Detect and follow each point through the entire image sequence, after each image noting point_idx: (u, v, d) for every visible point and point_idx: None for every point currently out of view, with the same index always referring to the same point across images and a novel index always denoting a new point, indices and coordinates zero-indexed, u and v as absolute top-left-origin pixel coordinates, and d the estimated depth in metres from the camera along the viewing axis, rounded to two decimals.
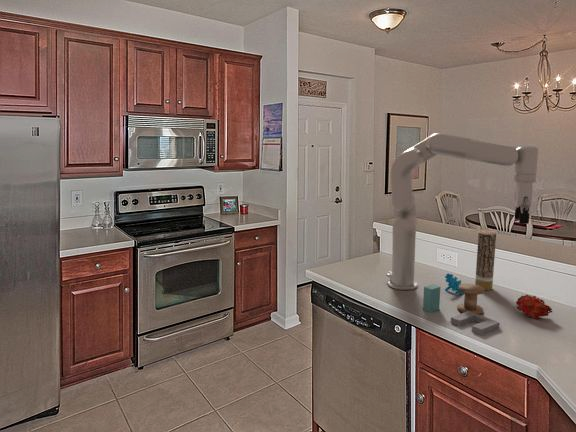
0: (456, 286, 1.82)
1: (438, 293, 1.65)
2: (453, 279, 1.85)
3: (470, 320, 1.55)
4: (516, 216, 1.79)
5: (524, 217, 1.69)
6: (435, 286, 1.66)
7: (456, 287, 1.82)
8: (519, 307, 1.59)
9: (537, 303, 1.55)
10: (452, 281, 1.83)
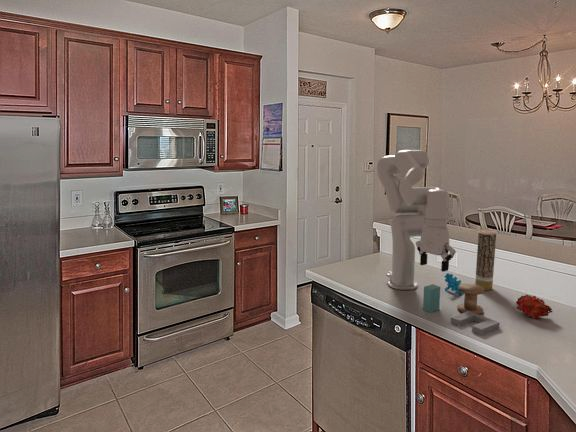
0: (455, 286, 1.83)
1: (438, 293, 1.65)
2: (453, 279, 1.85)
3: (470, 320, 1.55)
4: (422, 262, 1.67)
5: (447, 265, 1.59)
6: (435, 286, 1.66)
7: (455, 287, 1.82)
8: (519, 307, 1.59)
9: (537, 303, 1.55)
10: (452, 281, 1.84)
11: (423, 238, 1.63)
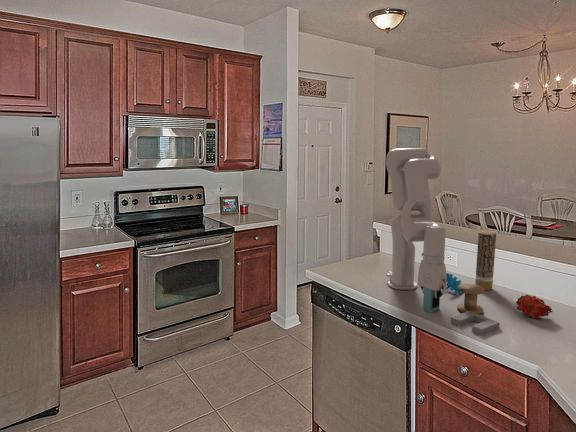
0: (455, 286, 1.83)
1: None
2: (452, 279, 1.85)
3: (470, 320, 1.55)
4: None
5: (437, 301, 1.64)
6: None
7: (455, 287, 1.82)
8: (519, 307, 1.59)
9: (537, 303, 1.55)
10: (451, 281, 1.84)
11: (421, 273, 1.66)
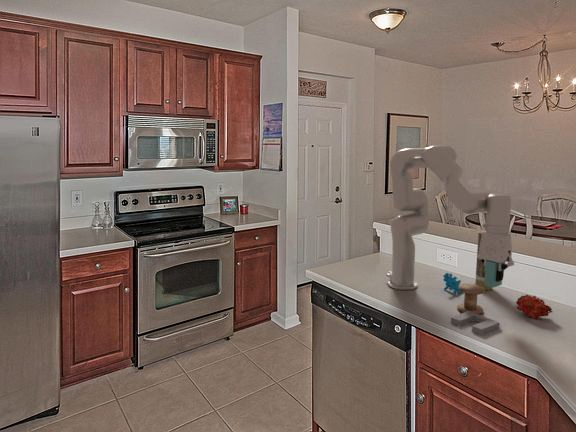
0: (454, 285, 1.83)
1: None
2: (452, 278, 1.86)
3: (470, 320, 1.55)
4: None
5: (501, 274, 1.54)
6: None
7: (454, 286, 1.83)
8: (519, 307, 1.59)
9: (537, 303, 1.55)
10: (450, 280, 1.84)
11: (483, 245, 1.56)
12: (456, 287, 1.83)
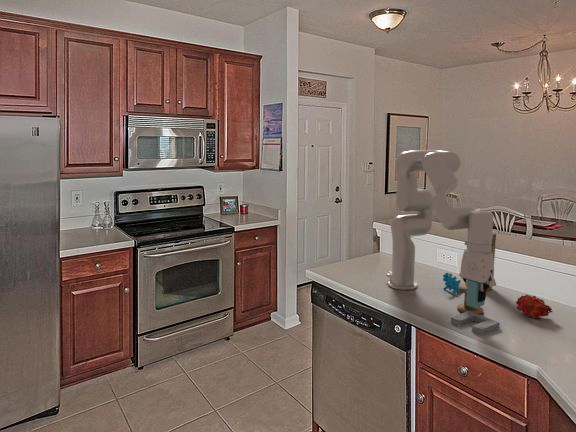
0: (454, 285, 1.83)
1: None
2: (451, 278, 1.86)
3: (470, 320, 1.55)
4: None
5: (484, 295, 1.47)
6: None
7: (453, 286, 1.83)
8: (519, 307, 1.59)
9: (537, 303, 1.55)
10: (450, 280, 1.84)
11: (464, 264, 1.50)
12: (456, 287, 1.83)
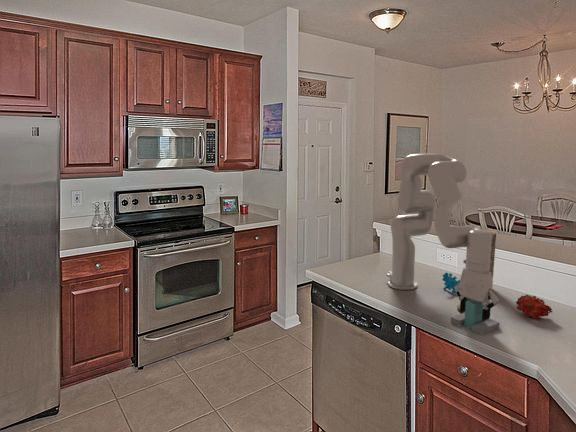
0: (453, 285, 1.83)
1: (481, 308, 1.51)
2: (451, 278, 1.86)
3: None
4: (462, 309, 1.54)
5: (488, 313, 1.47)
6: None
7: (453, 286, 1.83)
8: (519, 307, 1.59)
9: (537, 303, 1.55)
10: (449, 280, 1.84)
11: (463, 282, 1.51)
12: None
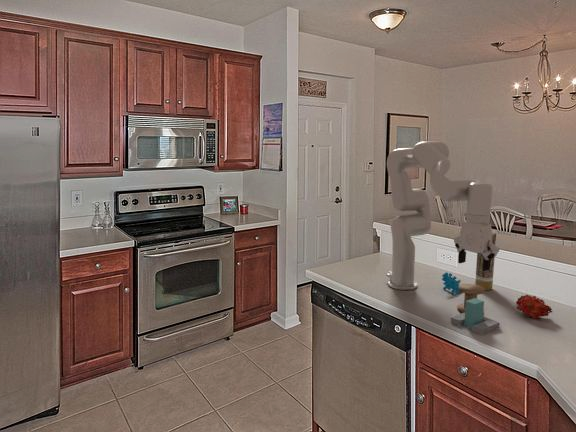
0: (453, 285, 1.84)
1: (481, 308, 1.51)
2: (451, 278, 1.86)
3: None
4: (460, 260, 1.56)
5: (488, 264, 1.48)
6: (478, 300, 1.51)
7: (452, 286, 1.83)
8: (519, 307, 1.59)
9: (537, 303, 1.55)
10: (449, 280, 1.85)
11: (463, 234, 1.52)
12: (455, 287, 1.84)
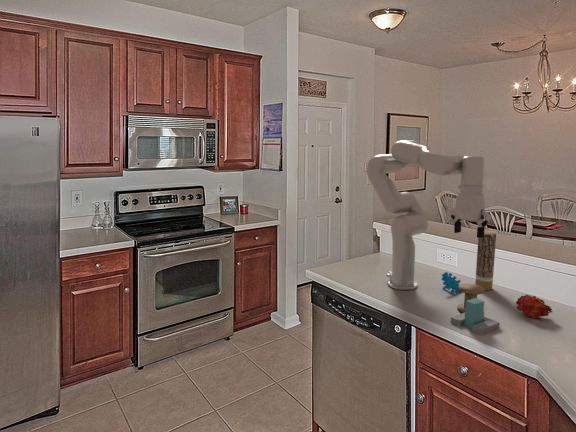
0: (452, 285, 1.84)
1: (481, 308, 1.51)
2: (451, 278, 1.86)
3: None
4: (456, 230, 1.68)
5: (482, 231, 1.59)
6: (478, 300, 1.51)
7: (452, 286, 1.83)
8: (519, 307, 1.59)
9: (537, 303, 1.55)
10: (449, 280, 1.85)
11: (458, 205, 1.64)
12: (454, 287, 1.84)
